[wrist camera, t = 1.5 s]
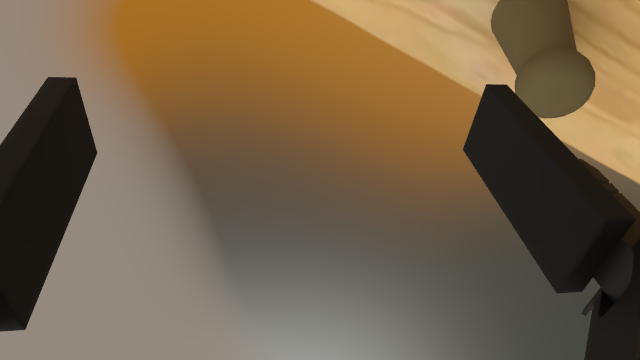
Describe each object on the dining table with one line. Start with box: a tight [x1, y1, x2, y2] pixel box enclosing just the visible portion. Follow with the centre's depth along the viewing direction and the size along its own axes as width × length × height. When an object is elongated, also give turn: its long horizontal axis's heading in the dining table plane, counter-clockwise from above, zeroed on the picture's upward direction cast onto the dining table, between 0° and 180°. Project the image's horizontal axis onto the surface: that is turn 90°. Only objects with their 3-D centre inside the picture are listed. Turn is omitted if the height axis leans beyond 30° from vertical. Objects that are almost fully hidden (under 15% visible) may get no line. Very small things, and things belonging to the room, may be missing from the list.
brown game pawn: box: [491, 0, 595, 118], centre depth 35 cm, size 6×6×11 cm
